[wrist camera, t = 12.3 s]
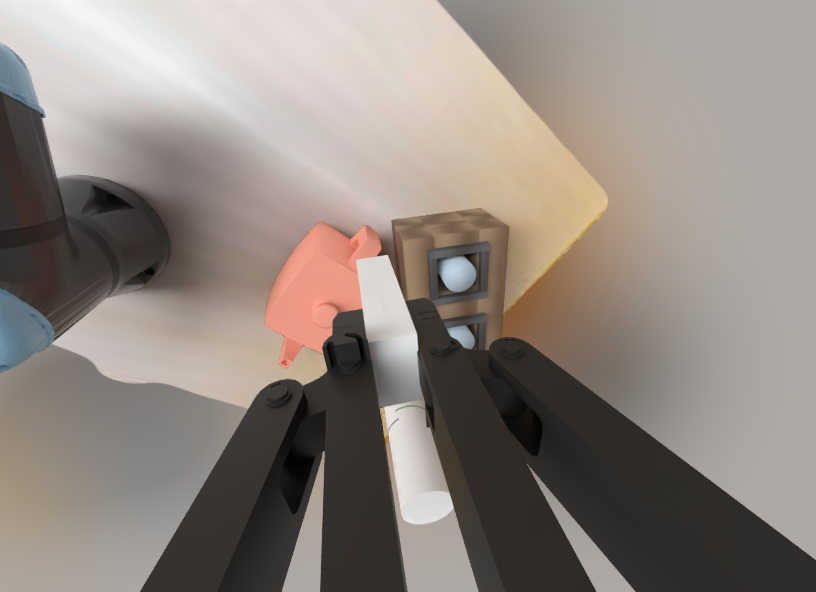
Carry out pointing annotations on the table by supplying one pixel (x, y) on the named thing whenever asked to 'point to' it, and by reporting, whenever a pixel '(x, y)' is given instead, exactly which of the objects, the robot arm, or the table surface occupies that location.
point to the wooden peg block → (452, 237)
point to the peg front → (456, 272)
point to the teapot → (317, 287)
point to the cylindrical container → (416, 464)
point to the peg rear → (462, 336)
